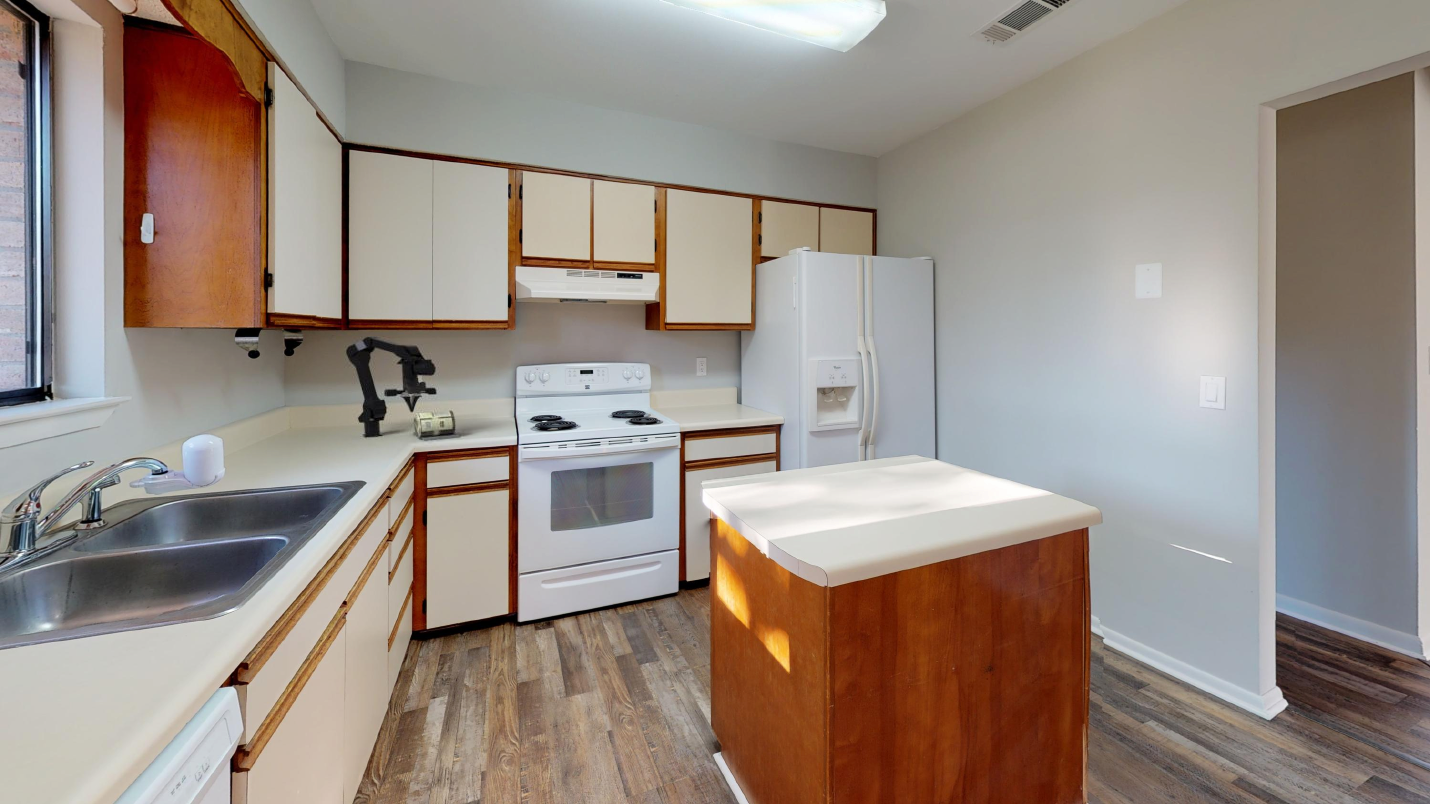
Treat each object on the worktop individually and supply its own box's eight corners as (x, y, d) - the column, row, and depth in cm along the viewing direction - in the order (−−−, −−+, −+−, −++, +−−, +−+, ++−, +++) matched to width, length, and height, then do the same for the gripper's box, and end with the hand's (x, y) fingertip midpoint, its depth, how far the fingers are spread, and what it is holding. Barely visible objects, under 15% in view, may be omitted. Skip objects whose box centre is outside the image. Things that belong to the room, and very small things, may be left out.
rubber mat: (412, 434, 246) (412, 432, 246) (447, 431, 255) (447, 429, 255) (423, 440, 231) (423, 438, 231) (459, 437, 240) (459, 435, 240)
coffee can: (413, 429, 240) (448, 426, 249) (418, 442, 233) (454, 438, 242) (414, 408, 236) (450, 406, 245) (419, 420, 229) (456, 417, 238)
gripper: (388, 377, 223) (390, 415, 224) (439, 375, 235) (440, 412, 236) (383, 375, 231) (385, 413, 233) (432, 374, 243) (433, 410, 245)
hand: (411, 412), depth 236 cm, fingers closed
